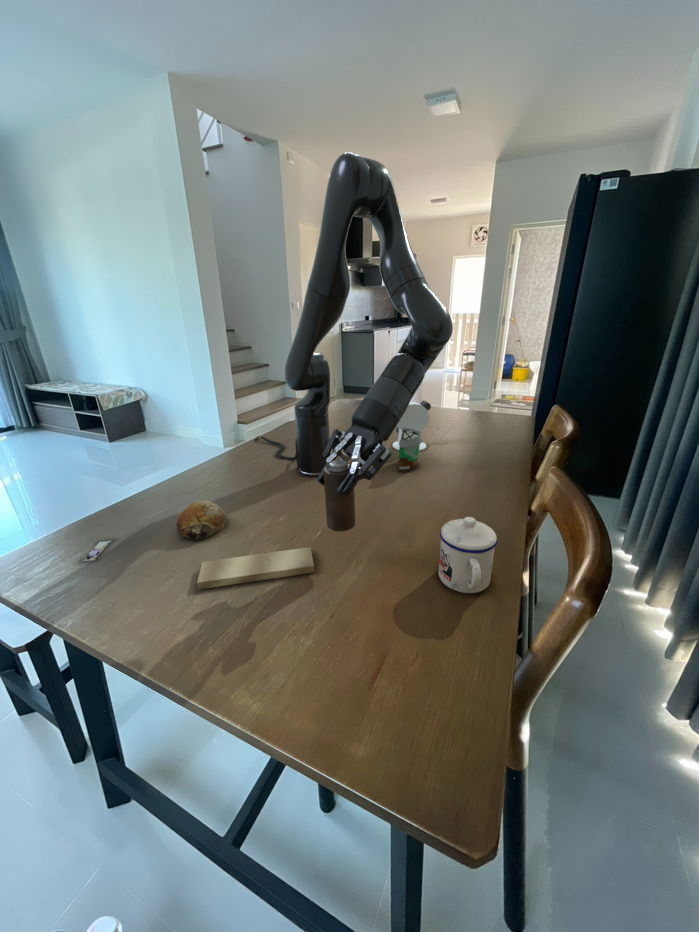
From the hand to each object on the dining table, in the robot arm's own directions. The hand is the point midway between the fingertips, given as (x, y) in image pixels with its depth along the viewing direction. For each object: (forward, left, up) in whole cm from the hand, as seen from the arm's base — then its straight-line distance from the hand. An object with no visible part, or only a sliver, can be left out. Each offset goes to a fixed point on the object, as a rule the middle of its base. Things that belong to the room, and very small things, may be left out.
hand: (331, 489), depth 66 cm
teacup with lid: (+21, +10, -15) cm, 28 cm away
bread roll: (-31, -10, -15) cm, 36 cm away
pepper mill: (0, +2, -8) cm, 8 cm away
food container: (-15, +48, -15) cm, 53 cm away
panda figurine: (-25, +63, -15) cm, 69 cm away
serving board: (-9, -11, -15) cm, 21 cm away
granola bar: (-40, -28, -16) cm, 51 cm away
